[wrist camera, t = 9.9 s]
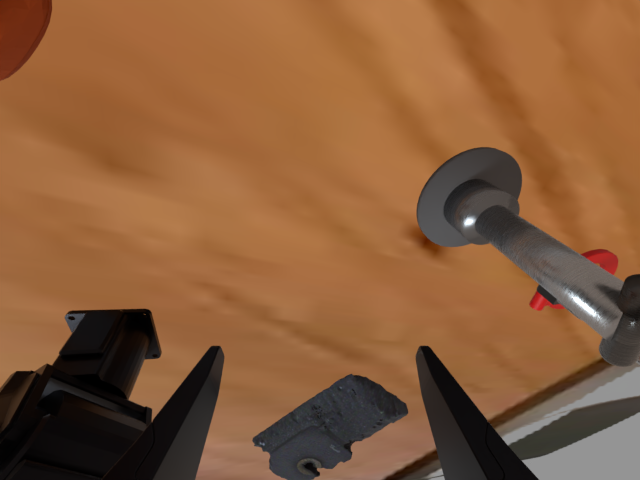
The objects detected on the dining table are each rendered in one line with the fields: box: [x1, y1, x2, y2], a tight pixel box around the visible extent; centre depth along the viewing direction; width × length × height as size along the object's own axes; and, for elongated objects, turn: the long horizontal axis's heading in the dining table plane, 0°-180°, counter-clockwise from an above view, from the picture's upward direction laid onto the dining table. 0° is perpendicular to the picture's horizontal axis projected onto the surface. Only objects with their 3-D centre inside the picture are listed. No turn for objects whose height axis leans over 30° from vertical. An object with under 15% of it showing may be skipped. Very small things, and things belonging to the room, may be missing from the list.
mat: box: [416, 147, 522, 247], centre depth 24 cm, size 9×9×1 cm
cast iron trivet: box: [252, 374, 408, 480], centre depth 41 cm, size 15×22×5 cm
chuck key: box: [443, 179, 640, 367], centre depth 19 cm, size 4×6×14 cm
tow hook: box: [529, 249, 640, 365], centre depth 28 cm, size 8×13×9 cm
